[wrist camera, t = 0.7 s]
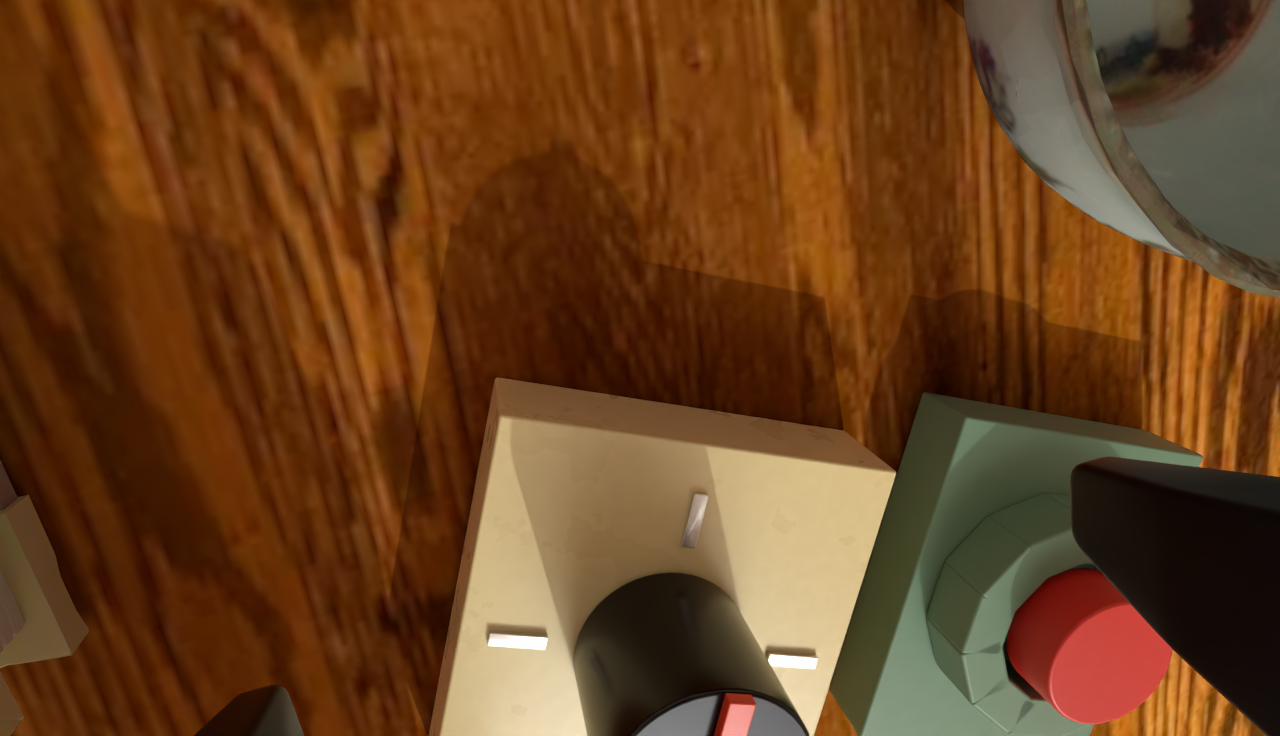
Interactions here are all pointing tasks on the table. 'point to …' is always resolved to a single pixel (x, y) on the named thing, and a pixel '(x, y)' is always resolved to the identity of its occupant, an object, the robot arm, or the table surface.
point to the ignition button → (1086, 647)
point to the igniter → (970, 568)
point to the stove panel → (647, 543)
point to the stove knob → (677, 665)
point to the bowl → (1148, 118)
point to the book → (30, 597)
